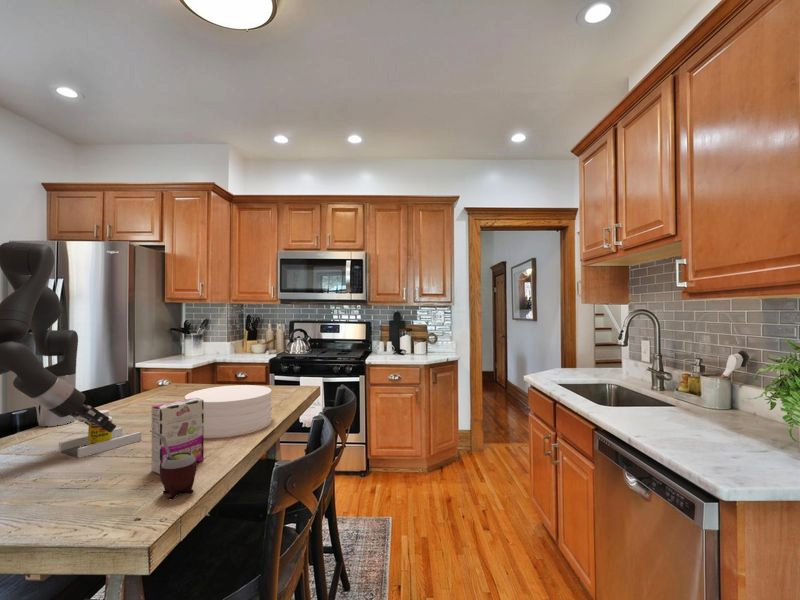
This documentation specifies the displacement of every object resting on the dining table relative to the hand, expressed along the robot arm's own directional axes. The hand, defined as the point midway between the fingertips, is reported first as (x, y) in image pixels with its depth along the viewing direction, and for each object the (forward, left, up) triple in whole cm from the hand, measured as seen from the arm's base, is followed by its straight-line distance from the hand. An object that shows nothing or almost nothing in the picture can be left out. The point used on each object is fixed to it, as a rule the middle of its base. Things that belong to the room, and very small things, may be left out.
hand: (105, 427), depth 114 cm
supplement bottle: (+1, -1, -5) cm, 6 cm away
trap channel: (0, 0, -5) cm, 5 cm away
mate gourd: (+42, +27, -5) cm, 50 cm away
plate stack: (-10, +33, -6) cm, 35 cm away
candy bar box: (+25, +24, -5) cm, 35 cm away
